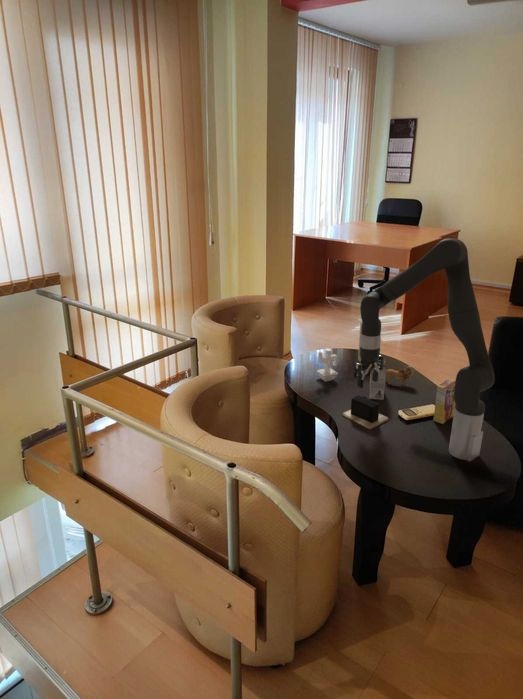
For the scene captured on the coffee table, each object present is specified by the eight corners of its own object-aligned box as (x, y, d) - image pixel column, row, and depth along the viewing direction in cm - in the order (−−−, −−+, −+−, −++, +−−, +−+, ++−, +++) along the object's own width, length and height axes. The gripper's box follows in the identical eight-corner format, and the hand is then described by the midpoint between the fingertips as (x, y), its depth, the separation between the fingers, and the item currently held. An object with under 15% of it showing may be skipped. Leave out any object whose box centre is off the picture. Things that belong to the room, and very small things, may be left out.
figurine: (339, 380, 232) (341, 350, 226) (321, 383, 228) (323, 353, 223) (331, 374, 238) (333, 344, 232) (314, 377, 234) (315, 348, 229)
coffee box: (369, 389, 223) (371, 356, 216) (383, 390, 221) (386, 357, 215) (368, 399, 214) (371, 364, 208) (384, 400, 213) (387, 365, 207)
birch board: (388, 419, 198) (388, 417, 197) (369, 429, 191) (370, 427, 191) (360, 406, 208) (361, 404, 207) (342, 415, 201) (342, 413, 201)
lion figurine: (412, 382, 229) (414, 364, 225) (413, 387, 224) (415, 369, 221) (379, 380, 231) (380, 362, 228) (379, 385, 227) (380, 366, 223)
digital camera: (380, 418, 197) (381, 402, 194) (372, 423, 193) (373, 407, 191) (358, 409, 204) (359, 393, 201) (350, 413, 200) (351, 398, 198)
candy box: (443, 412, 203) (448, 378, 197) (453, 416, 200) (458, 381, 194) (432, 420, 197) (436, 385, 191) (442, 424, 194) (447, 389, 188)
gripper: (374, 338, 195) (371, 376, 201) (349, 346, 186) (347, 386, 192) (390, 343, 189) (387, 382, 195) (365, 352, 181) (363, 392, 187)
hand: (367, 384), depth 194 cm, fingers open, 8 cm apart
